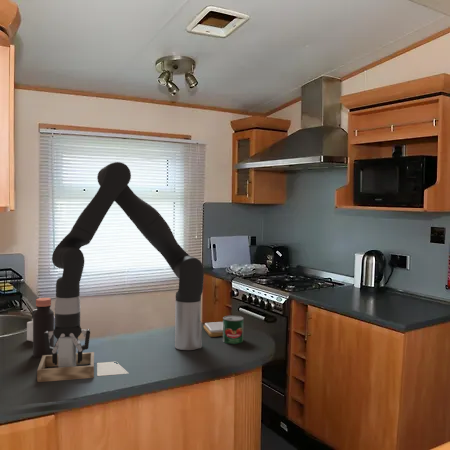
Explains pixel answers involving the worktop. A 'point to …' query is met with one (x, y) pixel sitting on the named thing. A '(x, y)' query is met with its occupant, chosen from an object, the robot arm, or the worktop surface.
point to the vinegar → (42, 326)
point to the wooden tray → (65, 369)
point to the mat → (110, 369)
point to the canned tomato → (233, 329)
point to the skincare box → (66, 352)
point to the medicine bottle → (30, 328)
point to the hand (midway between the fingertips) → (67, 363)
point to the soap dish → (214, 329)
